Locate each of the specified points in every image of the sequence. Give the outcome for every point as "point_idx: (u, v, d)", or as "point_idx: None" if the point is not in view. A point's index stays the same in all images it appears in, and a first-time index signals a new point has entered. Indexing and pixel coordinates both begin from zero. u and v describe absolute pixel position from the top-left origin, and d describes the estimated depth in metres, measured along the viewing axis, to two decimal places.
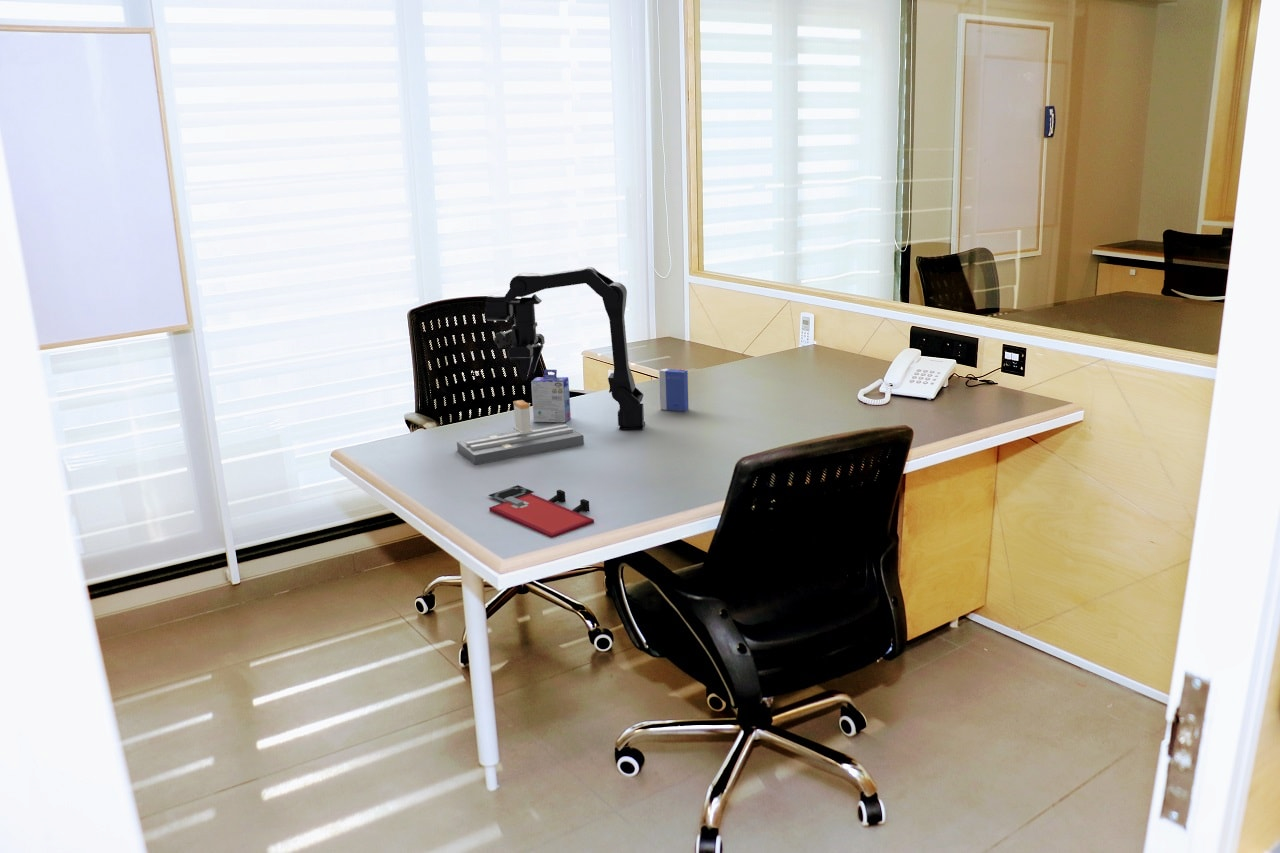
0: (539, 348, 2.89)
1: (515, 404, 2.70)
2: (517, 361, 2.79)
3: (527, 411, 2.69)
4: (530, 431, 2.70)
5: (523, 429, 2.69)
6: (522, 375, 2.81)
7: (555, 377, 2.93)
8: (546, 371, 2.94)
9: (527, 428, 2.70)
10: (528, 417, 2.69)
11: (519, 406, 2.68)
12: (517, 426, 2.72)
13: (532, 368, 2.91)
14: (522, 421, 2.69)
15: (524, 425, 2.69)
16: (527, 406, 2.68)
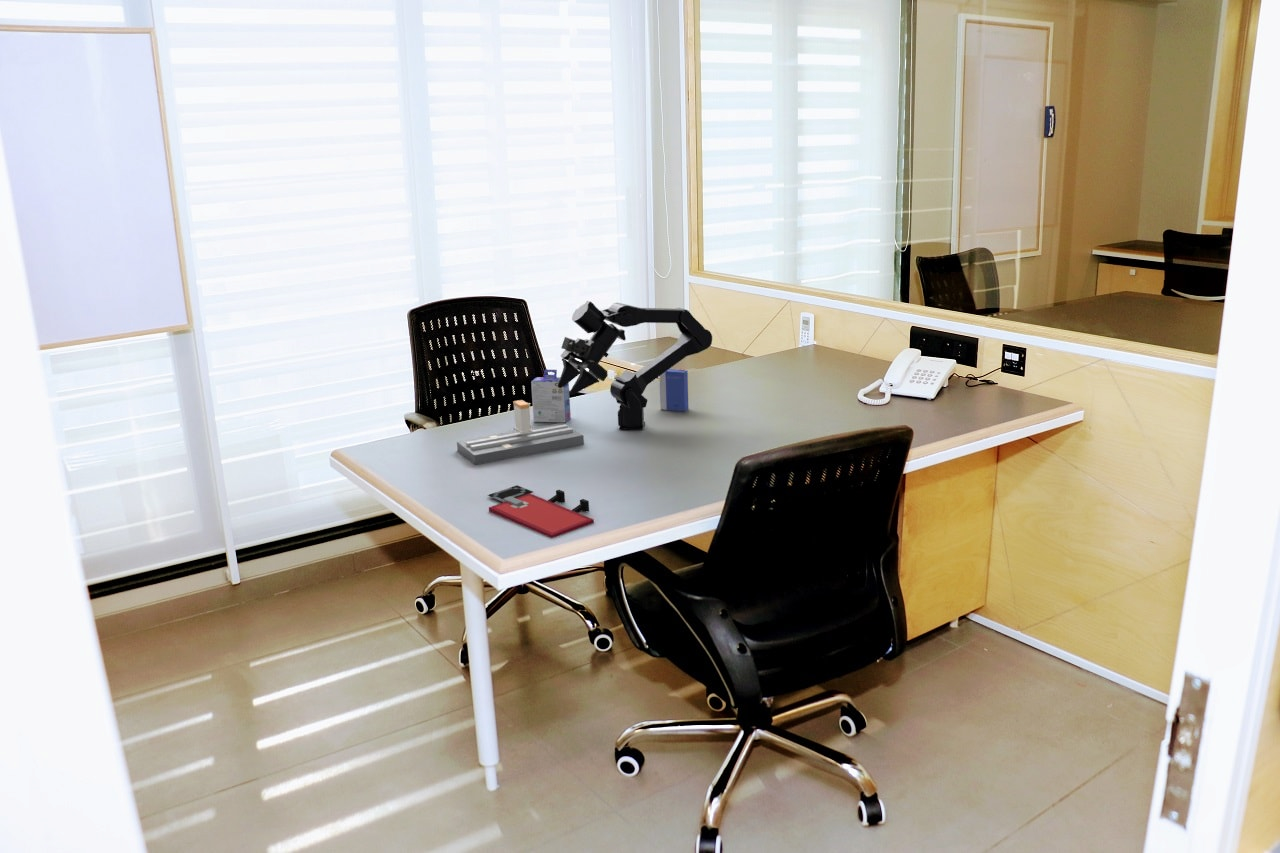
0: (578, 372, 2.81)
1: (515, 404, 2.70)
2: (583, 375, 2.70)
3: (527, 411, 2.69)
4: (530, 431, 2.70)
5: (523, 429, 2.69)
6: (574, 389, 2.71)
7: (555, 377, 2.93)
8: (546, 371, 2.94)
9: (527, 428, 2.70)
10: (528, 417, 2.69)
11: (519, 406, 2.68)
12: (517, 426, 2.72)
13: (561, 384, 2.79)
14: (522, 421, 2.69)
15: (524, 425, 2.69)
16: (527, 406, 2.68)
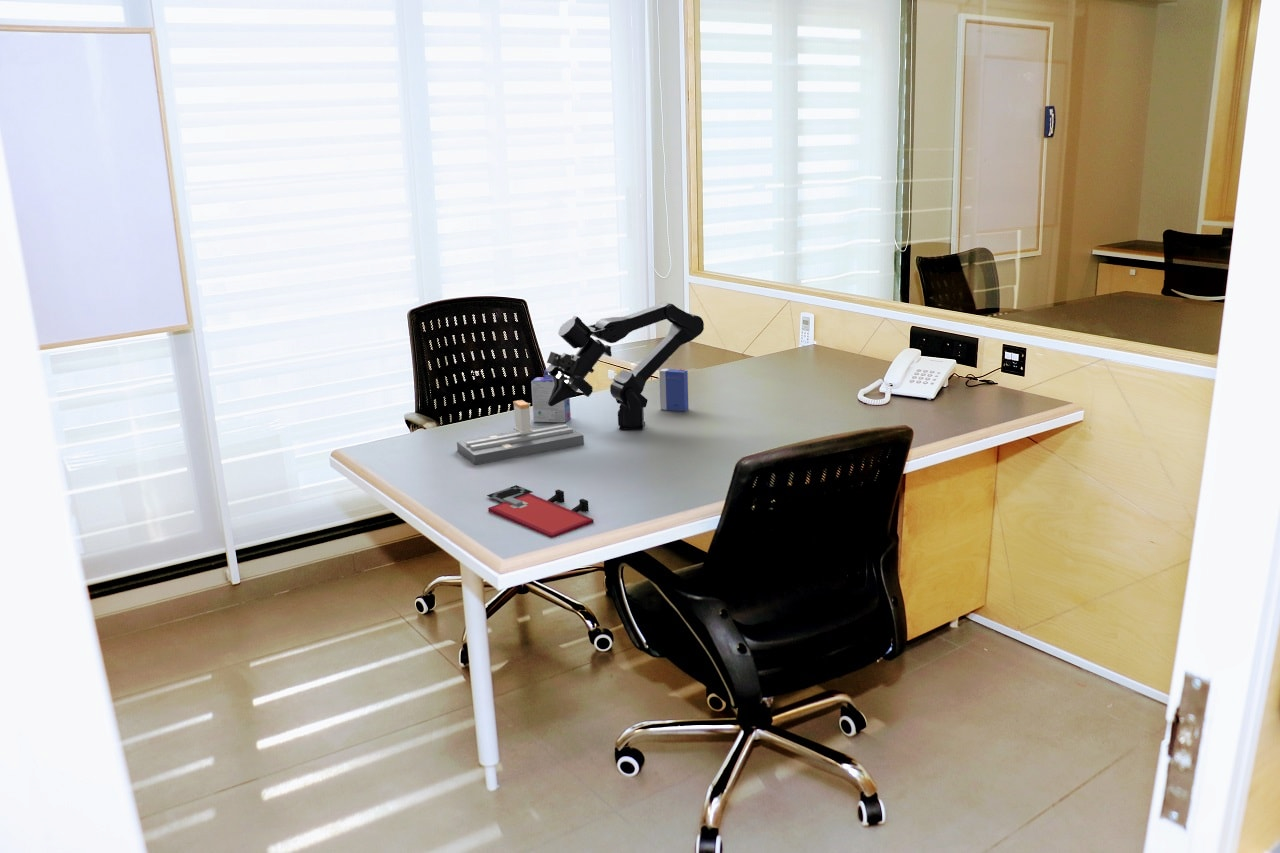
0: None
1: (515, 404, 2.70)
2: (562, 387, 2.72)
3: (527, 411, 2.69)
4: (530, 431, 2.70)
5: (523, 429, 2.69)
6: (552, 400, 2.73)
7: None
8: (546, 371, 2.94)
9: (527, 428, 2.70)
10: (528, 417, 2.69)
11: (519, 406, 2.68)
12: (517, 426, 2.72)
13: None
14: (522, 421, 2.69)
15: (524, 425, 2.69)
16: (527, 406, 2.68)
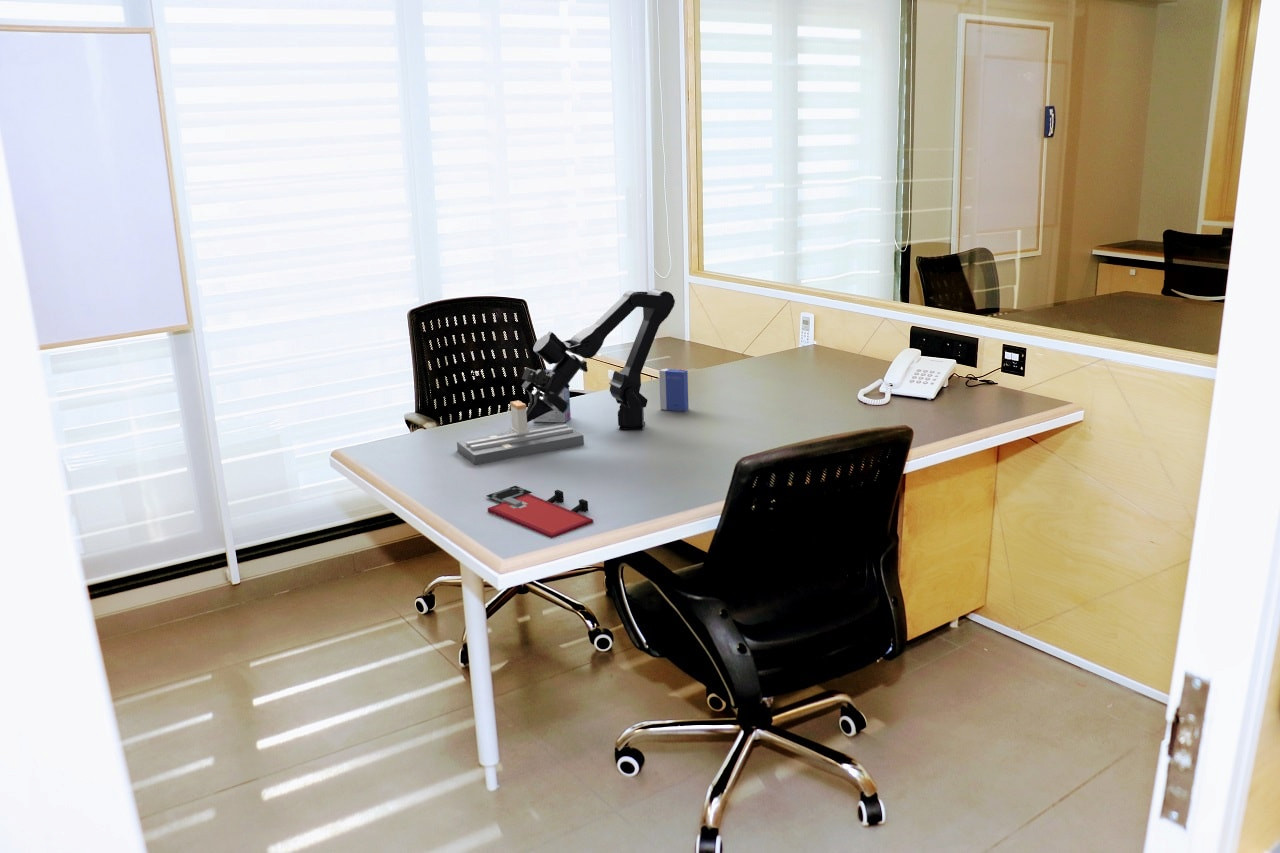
0: None
1: (512, 405, 2.70)
2: (537, 403, 2.70)
3: (524, 412, 2.68)
4: (527, 432, 2.69)
5: (520, 430, 2.69)
6: (528, 417, 2.71)
7: None
8: None
9: (524, 429, 2.69)
10: (525, 418, 2.69)
11: (516, 407, 2.67)
12: (514, 427, 2.71)
13: None
14: (519, 422, 2.68)
15: (521, 426, 2.69)
16: (524, 407, 2.68)
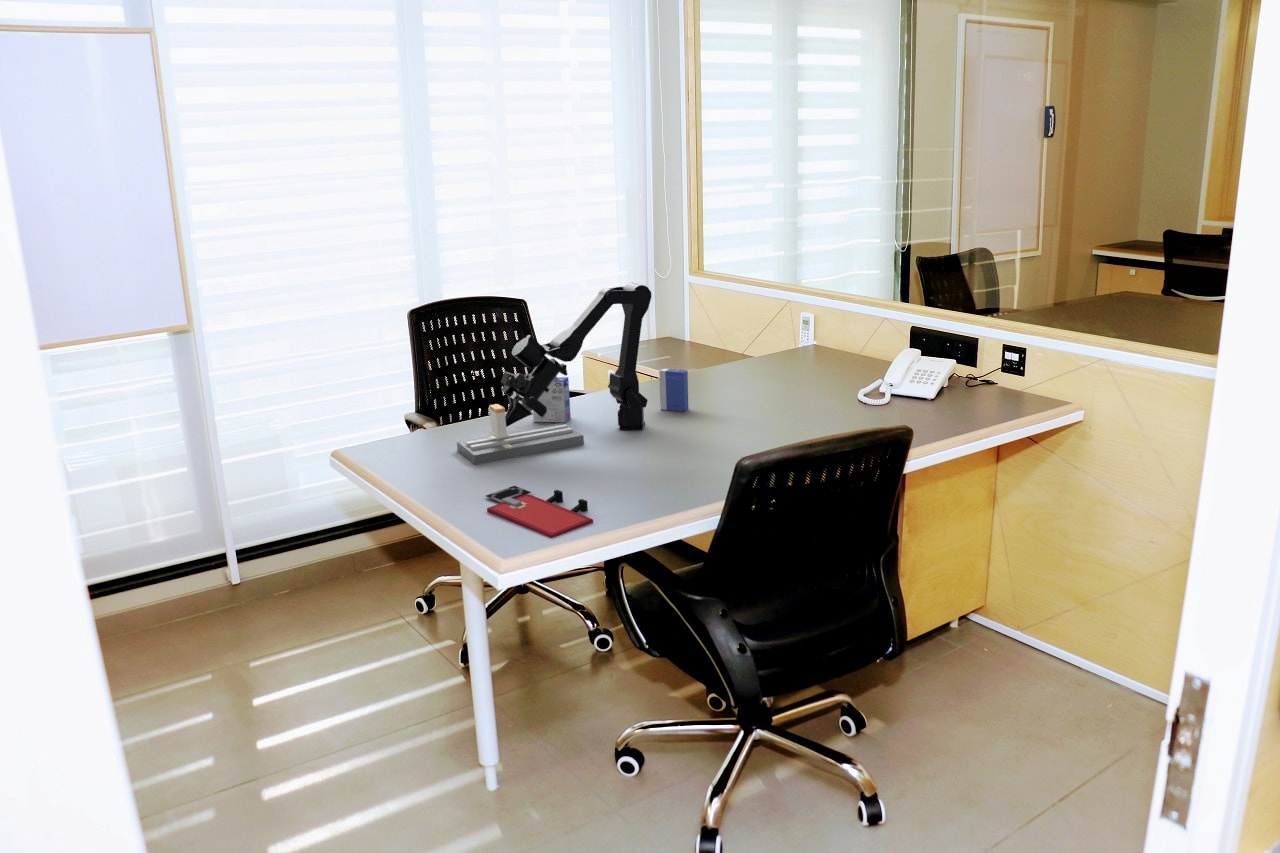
0: None
1: (491, 408, 2.67)
2: (516, 408, 2.67)
3: (503, 415, 2.66)
4: (506, 435, 2.67)
5: (499, 433, 2.66)
6: (507, 421, 2.68)
7: (555, 377, 2.93)
8: None
9: (503, 432, 2.67)
10: (504, 421, 2.66)
11: (495, 410, 2.65)
12: (493, 430, 2.69)
13: None
14: (498, 425, 2.66)
15: (500, 429, 2.66)
16: (503, 410, 2.65)
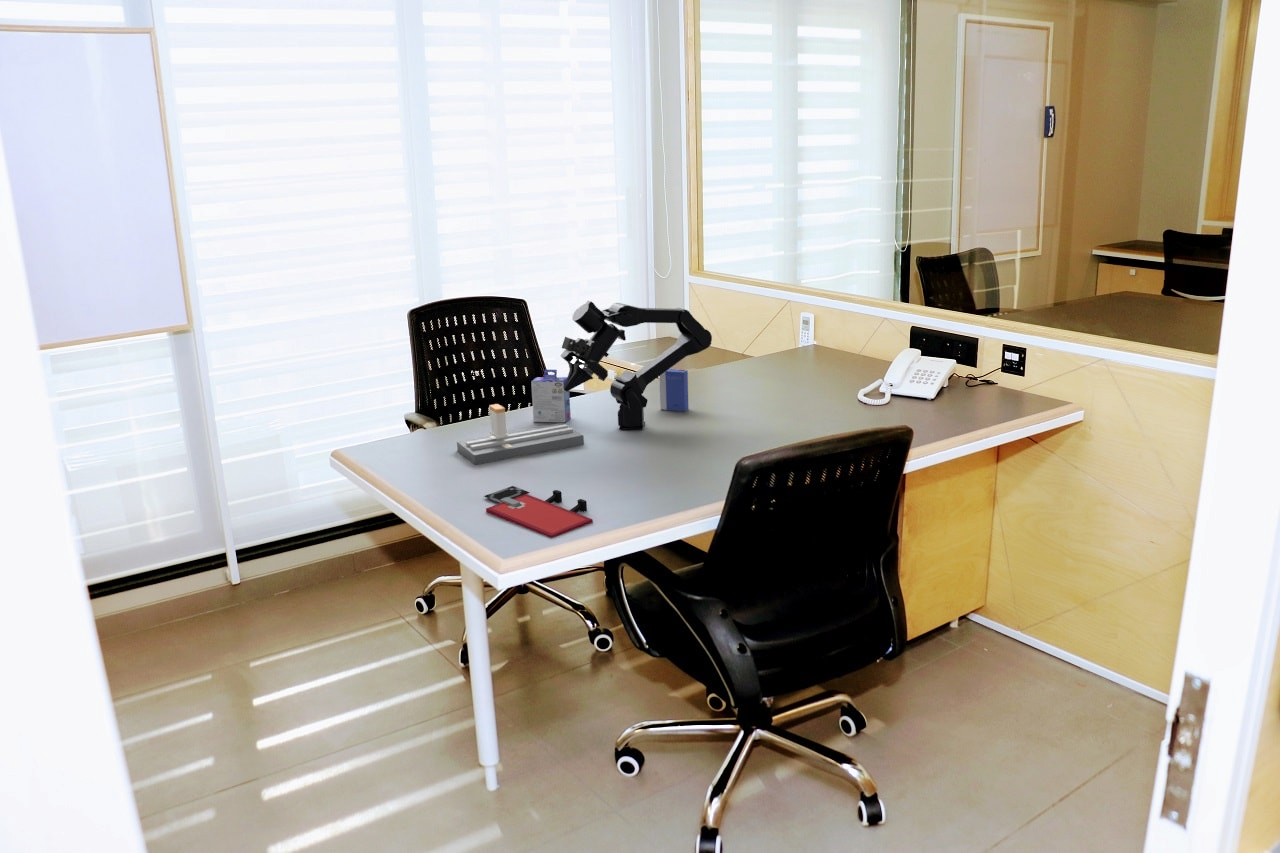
0: None
1: (491, 408, 2.67)
2: (577, 372, 2.73)
3: (503, 415, 2.66)
4: (506, 435, 2.67)
5: (499, 433, 2.66)
6: (568, 385, 2.74)
7: (555, 377, 2.93)
8: (546, 371, 2.94)
9: (503, 432, 2.67)
10: (504, 421, 2.66)
11: (495, 410, 2.65)
12: (493, 430, 2.69)
13: None
14: (498, 425, 2.66)
15: (500, 429, 2.66)
16: (503, 410, 2.65)
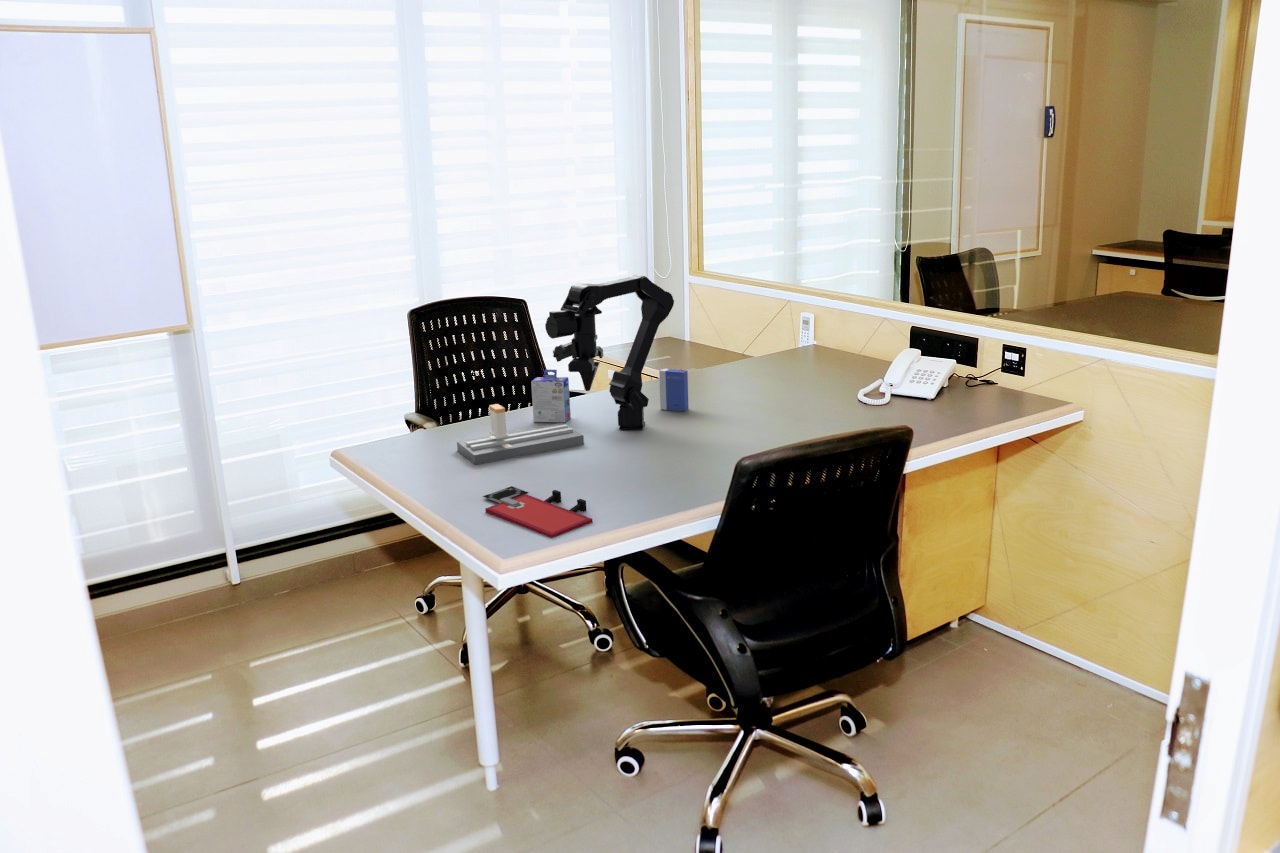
0: (595, 365, 2.74)
1: (491, 408, 2.67)
2: (581, 371, 2.72)
3: (503, 415, 2.66)
4: (506, 435, 2.67)
5: (499, 433, 2.66)
6: (585, 386, 2.74)
7: (555, 377, 2.93)
8: (546, 371, 2.94)
9: (503, 432, 2.67)
10: (504, 421, 2.66)
11: (495, 410, 2.65)
12: (493, 430, 2.69)
13: None
14: (498, 425, 2.66)
15: (500, 429, 2.66)
16: (503, 410, 2.65)
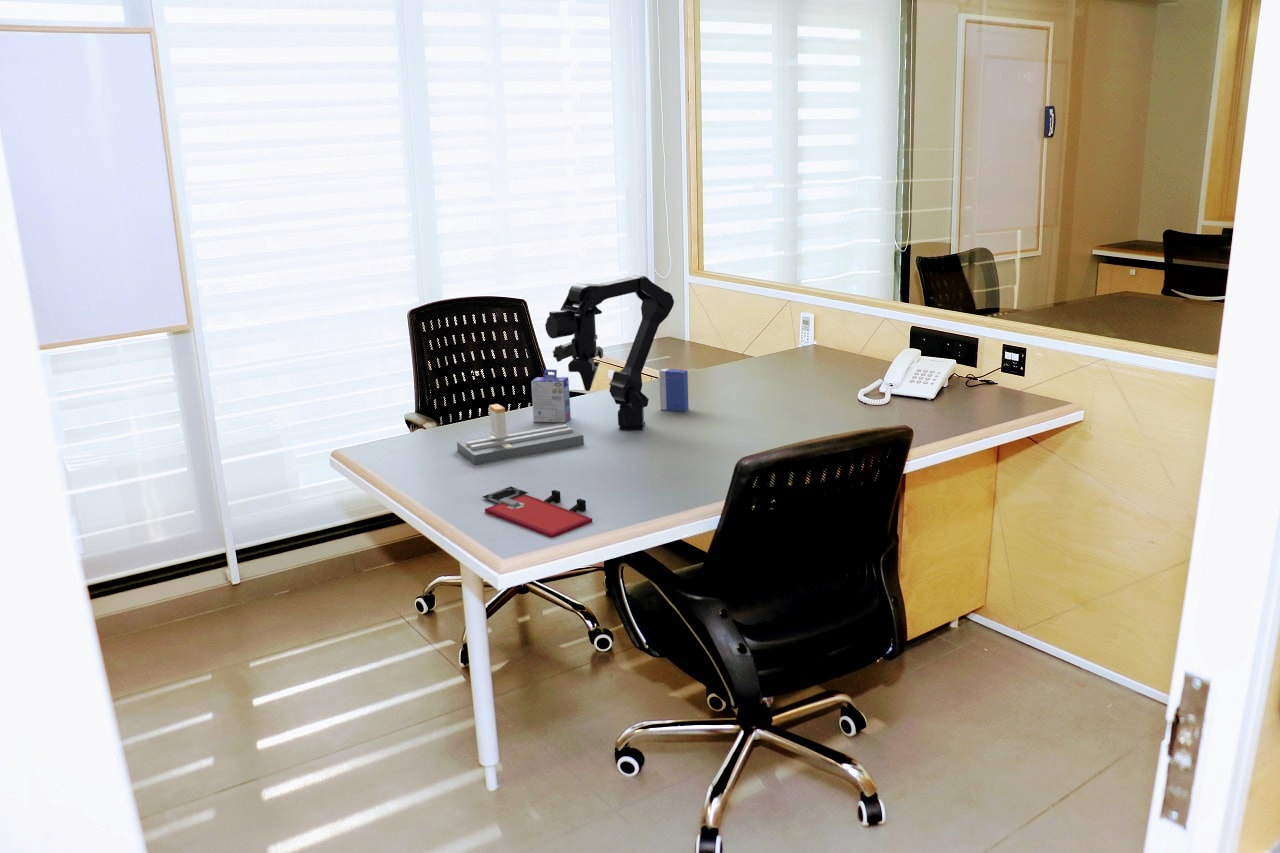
0: (595, 365, 2.74)
1: (491, 408, 2.67)
2: (581, 371, 2.72)
3: (503, 415, 2.66)
4: (506, 435, 2.67)
5: (499, 433, 2.66)
6: (585, 386, 2.74)
7: (555, 377, 2.93)
8: (546, 371, 2.94)
9: (503, 432, 2.67)
10: (504, 421, 2.66)
11: (495, 410, 2.65)
12: (493, 430, 2.69)
13: None
14: (498, 425, 2.66)
15: (500, 429, 2.66)
16: (503, 410, 2.65)
